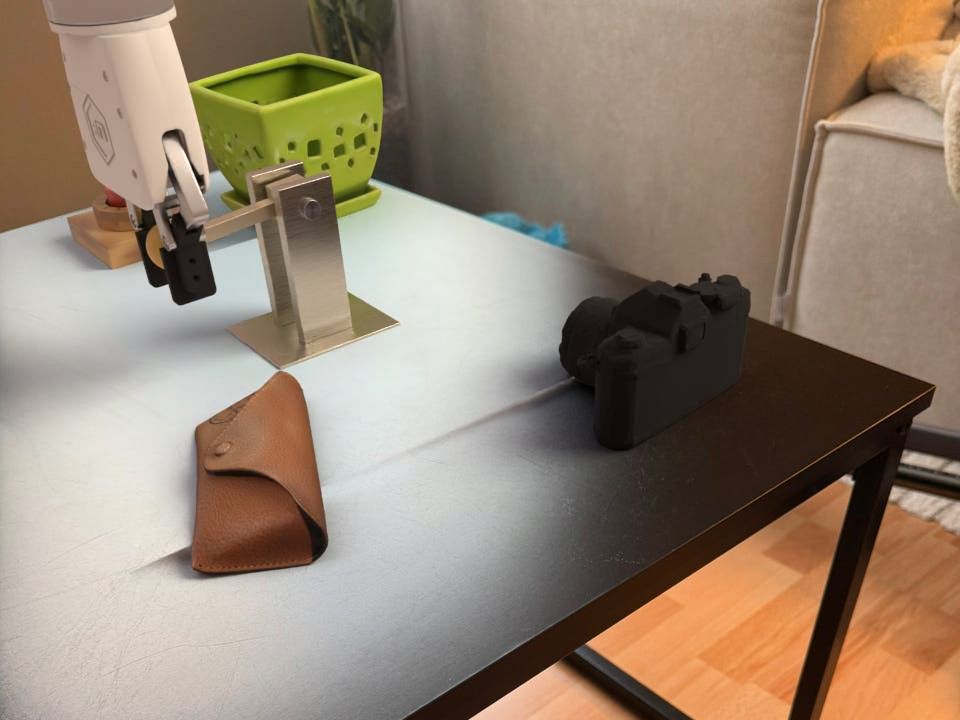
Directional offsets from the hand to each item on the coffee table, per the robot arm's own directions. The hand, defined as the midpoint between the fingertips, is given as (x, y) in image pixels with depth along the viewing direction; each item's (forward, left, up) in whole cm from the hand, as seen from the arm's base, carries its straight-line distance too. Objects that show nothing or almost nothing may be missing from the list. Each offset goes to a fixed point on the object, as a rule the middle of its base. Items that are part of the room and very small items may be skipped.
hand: (182, 287), depth 73 cm
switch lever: (+5, 0, +2) cm, 5 cm away
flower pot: (+23, +24, -7) cm, 34 cm away
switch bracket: (+10, 0, -7) cm, 12 cm away
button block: (+8, +30, -7) cm, 32 cm away
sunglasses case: (-4, -16, -7) cm, 18 cm away
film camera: (+23, -24, -7) cm, 34 cm away
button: (+8, +30, -4) cm, 31 cm away
